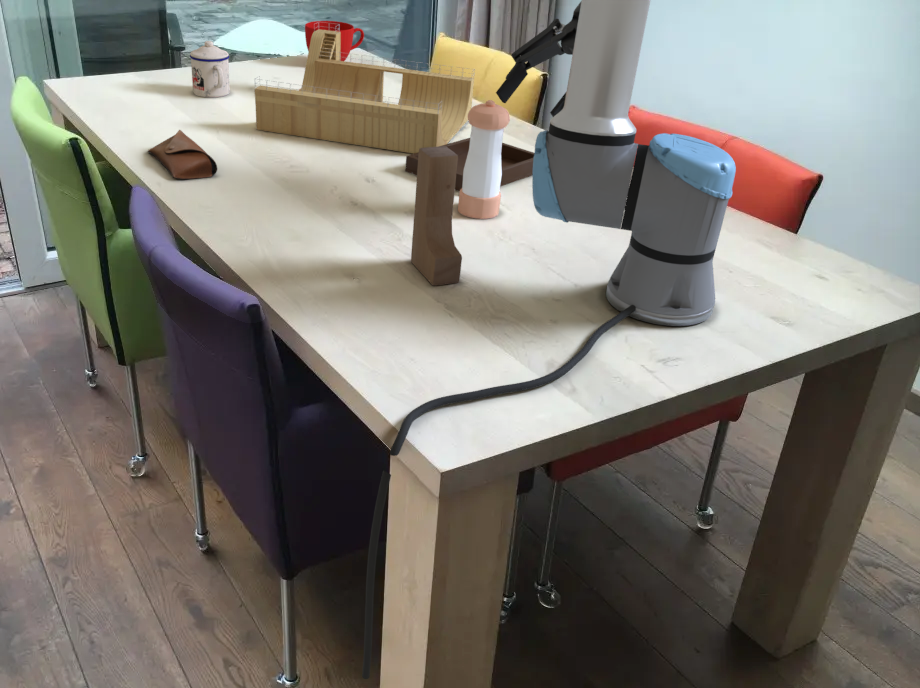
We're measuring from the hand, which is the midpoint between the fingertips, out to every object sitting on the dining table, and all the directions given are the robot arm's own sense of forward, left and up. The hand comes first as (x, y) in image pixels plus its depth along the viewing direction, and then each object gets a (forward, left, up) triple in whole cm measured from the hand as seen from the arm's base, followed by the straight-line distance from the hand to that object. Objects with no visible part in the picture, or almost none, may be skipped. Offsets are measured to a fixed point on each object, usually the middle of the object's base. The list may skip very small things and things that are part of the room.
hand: (526, 108), depth 154 cm
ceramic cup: (+45, +95, -17) cm, 107 cm away
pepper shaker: (-8, +1, -17) cm, 19 cm away
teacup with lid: (0, +89, -17) cm, 91 cm away
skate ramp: (+15, +51, -17) cm, 56 cm away
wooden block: (-33, -11, -17) cm, 39 cm away
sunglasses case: (-35, +53, -17) cm, 66 cm away
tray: (+8, +15, -17) cm, 24 cm away
